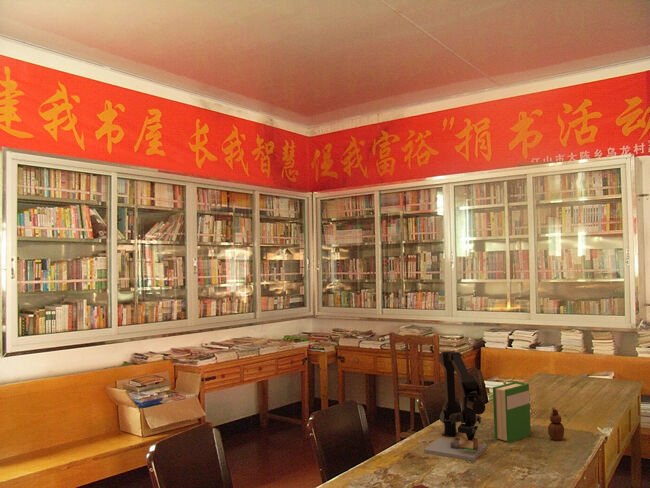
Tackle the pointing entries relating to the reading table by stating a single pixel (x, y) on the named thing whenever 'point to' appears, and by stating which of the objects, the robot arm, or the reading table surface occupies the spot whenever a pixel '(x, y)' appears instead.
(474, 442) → the lever
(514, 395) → the hardback book
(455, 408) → the robot arm
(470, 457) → the dial plate
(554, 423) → the wooden figurine
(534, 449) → the reading table surface
